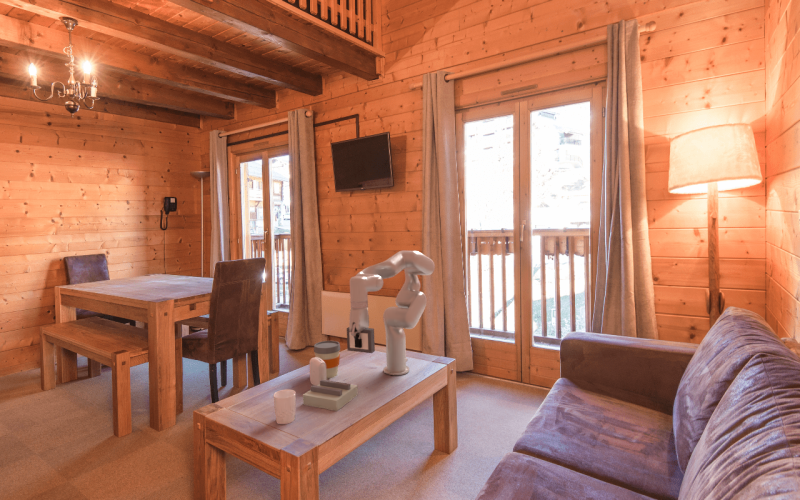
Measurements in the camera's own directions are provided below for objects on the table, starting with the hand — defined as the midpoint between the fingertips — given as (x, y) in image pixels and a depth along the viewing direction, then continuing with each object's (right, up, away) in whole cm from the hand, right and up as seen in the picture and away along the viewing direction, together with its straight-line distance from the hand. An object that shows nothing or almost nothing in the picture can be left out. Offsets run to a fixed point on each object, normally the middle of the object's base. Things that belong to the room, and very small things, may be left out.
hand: (360, 345), depth 175 cm
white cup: (-25, -21, -27) cm, 43 cm away
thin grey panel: (0, -2, 0) cm, 2 cm away
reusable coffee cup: (-17, -18, +18) cm, 31 cm away
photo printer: (-20, -19, +5) cm, 28 cm away
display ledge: (-11, -20, -10) cm, 25 cm away
